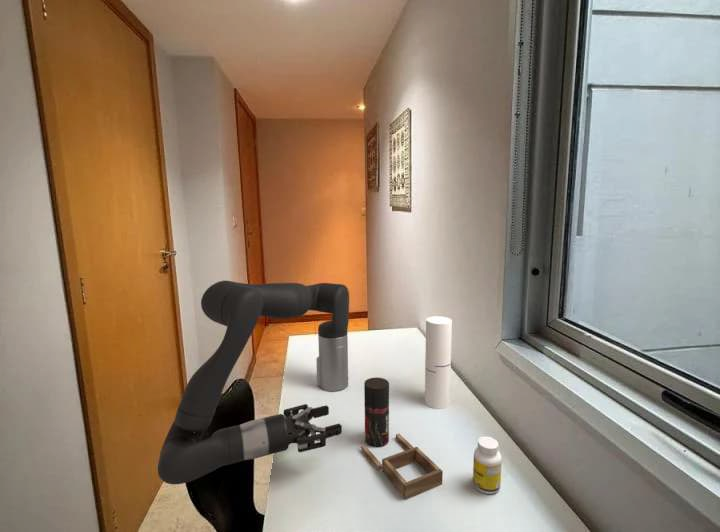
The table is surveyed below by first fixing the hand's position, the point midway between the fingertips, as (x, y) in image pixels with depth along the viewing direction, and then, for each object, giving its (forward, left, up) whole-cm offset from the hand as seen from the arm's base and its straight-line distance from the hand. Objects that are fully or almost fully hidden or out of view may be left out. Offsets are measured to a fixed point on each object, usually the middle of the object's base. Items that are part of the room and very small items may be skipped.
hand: (334, 418), depth 88 cm
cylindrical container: (+19, +31, -9) cm, 37 cm away
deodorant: (+8, +8, -9) cm, 14 cm away
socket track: (+16, +1, -9) cm, 18 cm away
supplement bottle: (+34, +1, -9) cm, 35 cm away
